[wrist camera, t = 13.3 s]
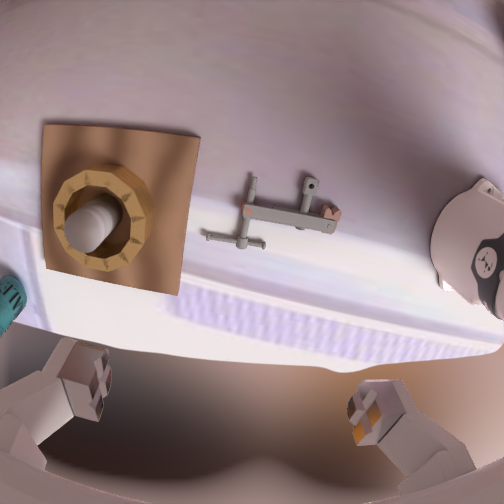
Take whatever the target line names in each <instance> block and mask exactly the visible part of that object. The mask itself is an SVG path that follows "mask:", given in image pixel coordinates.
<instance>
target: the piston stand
mask: <svg viewBox="0 0 504 504" xmlns="http://www.w3.org/2000/svg"><path fill="white" fill-rule="evenodd" d="M200 138H201V137H195V136H188V135H181V134H173V133H166V132H158V131H149V130H140V129H130V128H118V127H106V126H91V125H71V124H46V125H44V134H43V148H42V174H41V200H42V226H43V241H44V252H45V262H46V269H50V270H54V271H59V272H63V273H67V274H72V275H76V276H81V277H85V278H90V279H94V280H99V281H104V282H109V283H113V284H118V285H123V286H128V287H133V288H138V289H144V290H149V291H154V292H160V293H165V294H171V295H176V296H177V295H178V292H179V286H180V276H181V267H182V259H183V250H184V242H185V235H186V227H187V220H188V213H189V206H190V199H191V192H192V186H193V179H194V173H195V167H196V161H197V155H198V150H199V144H200ZM99 163H104V164H113V165H121V166H125V167H126V168H128V169H129V170H130V171H131V172H133V173H134V174H135V175H136V176H138V177H139V178H140V179H141V180H143V181H144V182H145V184H146V187H147V189H148V191H149V194H150V196H151V198H152V201H153V203H154V205H155V211H154V221H153V231H152V233H151V234H150V236H149V237H148V239H147V240H146V242H145V244H144V245H143V246H142V248H141V249H140V250H139V252H138V253H137V255H136V256H135V257H134V259H133V260H132V262H131V263H130V264H129V265H126V266H123V267H120V268H117V269H115V270H112V271H109V272H106V271H101V270H97V269H92V268H87V267H84V266H83V265H82V264H80V263H79V262H78V261H77V260H75V259H74V258H73V257H72V256H70V255H69V254H68V253H67V252H66V251H65V250H64V248H63V246H62V244H61V242H60V240H59V238H58V236H57V234H56V232H55V230H54V218H53V203H54V201H55V199H56V197H57V195H58V193H59V191H60V189H61V187H62V185H63V183H64V181H66V180H68V179H70V178H71V177H73V176H75V175H77V174H79V173H80V172H82V171H84V170H86V169H88V168H90V167H93V166H95V165H97V164H99ZM130 231H131V218H130V216H129V213H128V211H127V209H126V207H125V204H124V202H123V200H122V199H121V198H119V197H118V196H117V195H116V194H114V193H113V192H112V191H110V190H109V189H108V188H107V187H100V186H93V185H87V186H86V188H85V190H84V192H83V193H82V195H81V197H80V202H79V209H78V210H77V211H76V212H74V213H73V214H72V215H70V216H69V217H68V218H67V220H66V222H65V225H64V233H65V237H66V239H67V241H68V243H69V244H70V245H71V247H73V248H74V249H75V250H77V251H79V252H82V253H89V252H92V251H94V250H95V249H96V248H97V247H98V246H99V245H100V244H101V242H104V243H109V244H115V245H117V244H119V243H122V242H124V241H127V240H129V239H130Z"/></svg>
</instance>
